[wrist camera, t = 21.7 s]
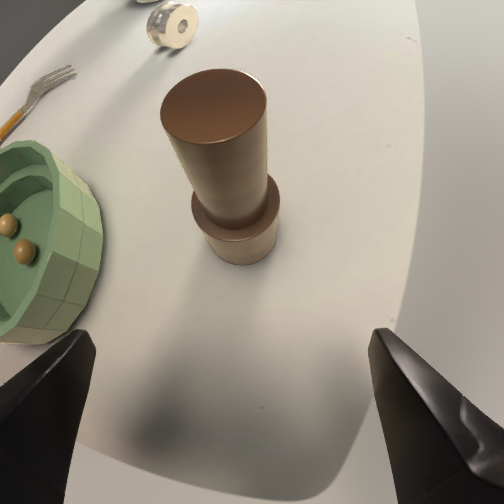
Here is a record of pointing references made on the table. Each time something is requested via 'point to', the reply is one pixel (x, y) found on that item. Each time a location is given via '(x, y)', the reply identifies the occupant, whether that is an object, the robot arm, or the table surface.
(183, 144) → the brown stepped cylinder
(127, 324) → the table surface
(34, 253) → the bead
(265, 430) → the table surface
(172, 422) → the table surface
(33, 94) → the fork
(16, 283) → the bowl
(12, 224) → the bead
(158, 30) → the metal grooved wheel
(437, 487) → the robot arm
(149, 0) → the flower vase
